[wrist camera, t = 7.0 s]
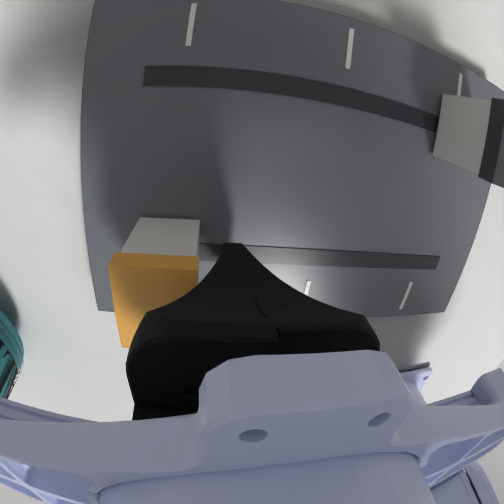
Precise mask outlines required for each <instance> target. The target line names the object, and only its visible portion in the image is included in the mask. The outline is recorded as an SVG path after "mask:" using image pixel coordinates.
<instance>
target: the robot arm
mask: <svg viewBox="0 0 504 504" xmlns="http://www.w3.org/2000/svg"><path fill="white" fill-rule="evenodd" d="M126 374H127V378H128V382H129V386H130V389H131V393H132V397H133V400H134V404H135V405H134V411H133V417H132V421H117V422H96V421H90V420H85V419H80V418H75V417H70V416H66V415H62V414H57V413H53V412H49V411H45V410H41V409H38V408H34V407H31V406H27V405H24V404H20V403H17V402H14V401H11V400H8V399H5V398H2V397H0V483H1V484H3V485H6V486H7V487H9V488H11V489H13V490H16V491H18V492H20V493H22V494H24V495H26V496H29V497H31V498H33V499H36V500H38V501H40V502H43V503H45V504H499V502H498V499H497V497H496V494H495V492H494V490H493V488H492V486H491V483H490V481H489V479H488V477H487V475H486V474H485V472H484V470H483V468H482V467H481V465H480V464H479V462H478V461H477V459H479V458H481V457H482V456H484V455H486V454H487V453H489V452H491V451H492V450H493V449H495V448H496V447H497V446H498V445H499V444H500V443H501V442H502V441H503V440H504V372H503V371H502V369H496V370H493V371H491V372H488V373H485V374H484V375H482V376H481V377H480V378H479V379H478V380H477V381H476V382H475V384H474V385H473V387H472V389H471V390H470V391H467V392H464V393H461V394H459V395H456V396H453V397H449V398H446V399H443V400H440V401H437V402H433V403H430V404H427V403H426V402H425V400H424V398H423V396H422V395H421V393H420V390H421V389H422V387H423V386H424V384H425V383H426V381H427V380H428V378H429V377H430V375H431V374H432V369H431V368H430V367H428V368H423V369H418V370H413V371H408V372H402V373H399V371H398V369H397V368H396V366H395V364H394V362H393V361H392V360H391V358H390V357H389V355H388V354H387V353H386V352H381V351H380V342H379V340H378V338H377V335H376V334H375V332H374V331H373V329H372V327H371V326H370V324H369V322H368V321H367V319H366V318H365V316H364V315H362V314H358V313H354V312H350V311H347V310H343V309H339V308H336V307H334V306H331V305H328V304H326V303H323V302H320V301H318V300H316V299H314V298H311V297H309V296H307V295H305V294H303V293H302V292H300V291H298V290H296V289H294V288H293V287H291V286H290V285H288V284H287V283H285V282H284V281H282V280H281V279H279V278H278V277H277V276H275V275H274V274H273V273H272V272H270V271H269V270H268V269H267V268H266V267H265V266H264V265H262V264H261V263H260V262H259V261H258V260H257V259H256V258H255V257H254V256H253V255H252V254H251V252H250V251H249V250H248V249H247V248H246V247H245V246H244V245H243V244H242V243H227V242H226V243H225V244H223V248H222V252H221V254H220V256H219V258H218V259H217V261H216V263H215V264H214V266H213V267H212V269H211V270H210V271H209V273H208V274H207V275H206V276H205V277H204V279H203V280H202V281H201V282H200V283H199V284H198V285H197V286H195V287H194V288H193V289H192V290H191V291H189V292H188V293H187V294H185V295H184V296H182V297H180V298H179V299H177V300H175V301H173V302H171V303H169V304H167V305H164V306H162V307H159V308H156V309H154V310H151V311H148V312H146V314H145V315H144V317H143V319H142V320H141V322H140V324H139V326H138V328H137V330H136V332H135V334H134V337H133V339H132V342H131V345H130V348H129V352H128V356H127V361H126ZM463 468H465V471H466V474H465V472H464V470H463ZM466 475H467V476H466ZM467 477H468V478H467ZM468 479H469V480H468ZM469 481H470V482H469Z"/></svg>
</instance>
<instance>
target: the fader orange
mask: <svg viewBox="0 0 504 504" xmlns="http://www.w3.org/2000/svg"><path fill="white" fill-rule="evenodd" d="M199 229H200V220H191V219H170V218H146V217H140V218H139V220H138V222H137V223H136V225H135V227H134V229H133V230H132V232H131V234H130V236H129V237H128V239H127V241H126V243H125V245H124V246H123V248H122V250H121V252H115V254H114V255H113V257H112V259H111V261H110V262H109V264H108V270H109V277H110V284H111V291H112V298H113V304H114V310H115V315H116V321H117V326H118V331H119V336H120V341H121V346H122V347H125V348H130V345H131V342H132V339H133V337H134V334H135V332H136V330H137V328H138V326H139V324H140V322H141V320H142V319H143V317H144V315H145V314H146V312H148V311H151V310H154V309H156V308H159V307H162V306H164V305H167V304H169V303H171V302H173V301H175V300H177V299H179V298H180V297H182V296H184V295H185V294H187V293H188V292H189V291H191V290H192V289H193V288H194V287H195V286H197V285H198V279H199V256H198V252H199Z"/></svg>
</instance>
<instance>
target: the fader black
mask: <svg viewBox="0 0 504 504" xmlns="http://www.w3.org/2000/svg"><path fill="white" fill-rule="evenodd" d="M433 156H435V157H437V158H440V159H443V160H445V161H448V162H450V163H453V164H455V165H458V166H460V167H463V168H465V169H467V170H470V171H472V172H474V173H477V174H478V177H479V178H481V179H484V180H486V181H488V182H490V183H492V184H495V185H498V186H500V187H503V188H504V99H498V98H492V99H491V100H485V99H479V98H472V97H464V96H456V95H447V94H443V96H442V104H441V111H440V117H439V124H438V130H437V135H436V141H435V146H434V151H433Z"/></svg>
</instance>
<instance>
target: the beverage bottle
mask: <svg viewBox="0 0 504 504" xmlns="http://www.w3.org/2000/svg"><path fill="white" fill-rule="evenodd" d="M23 355H24V348H23V344H22V341H21V338H20V336H19V334H18V332H17V330H16V329H15V327H14V326H13V324H12V323H11V321H10V320H9V319H8V318H7V317H6V315H5V314H4V313H3V312H2V311H1V310H0V397H2V398H5V399H8V397H9V395H10V393H11V391H12V389H13V387H14V385H15V384H14V379H16V378H18V377H16V375H17V374H18V371H19V369H21V364H22V361H23ZM20 372H21V371H20ZM20 372H19V373H20ZM15 377H16V378H15ZM16 381H17V380H16ZM15 383H16V382H15ZM12 385H13V387H12ZM11 387H12V389H11ZM10 390H11V391H10ZM9 392H10V393H9Z"/></svg>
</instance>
